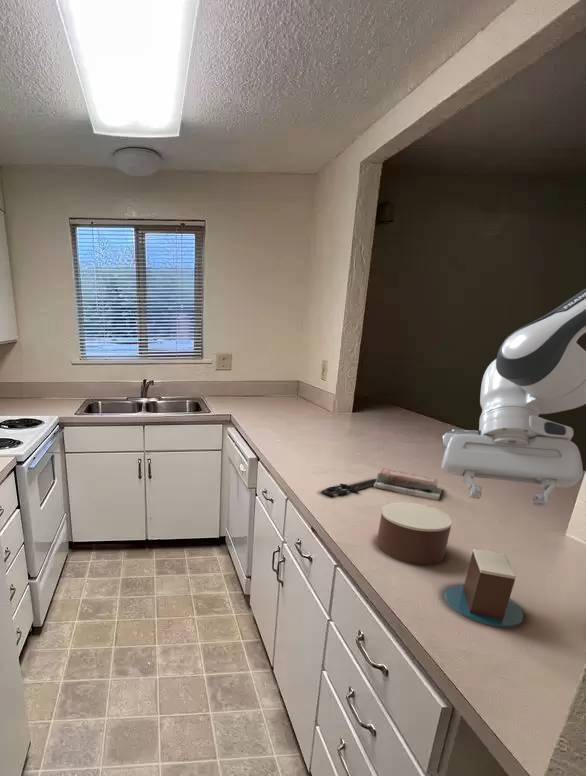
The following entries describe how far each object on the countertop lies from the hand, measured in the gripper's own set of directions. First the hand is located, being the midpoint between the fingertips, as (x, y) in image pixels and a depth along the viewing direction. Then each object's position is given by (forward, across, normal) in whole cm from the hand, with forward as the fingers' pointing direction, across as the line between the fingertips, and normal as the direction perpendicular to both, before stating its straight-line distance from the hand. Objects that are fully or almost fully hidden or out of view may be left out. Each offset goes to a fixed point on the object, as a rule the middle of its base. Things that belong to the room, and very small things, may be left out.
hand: (507, 501), depth 75 cm
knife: (-21, -26, +51) cm, 61 cm away
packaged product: (-25, -11, +54) cm, 60 cm away
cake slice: (+16, 0, +12) cm, 20 cm away
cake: (+4, -12, +26) cm, 28 cm away
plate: (+16, 0, +13) cm, 21 cm away
